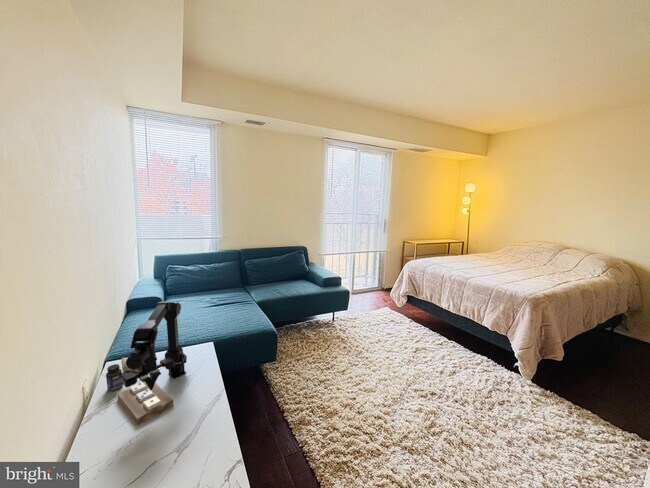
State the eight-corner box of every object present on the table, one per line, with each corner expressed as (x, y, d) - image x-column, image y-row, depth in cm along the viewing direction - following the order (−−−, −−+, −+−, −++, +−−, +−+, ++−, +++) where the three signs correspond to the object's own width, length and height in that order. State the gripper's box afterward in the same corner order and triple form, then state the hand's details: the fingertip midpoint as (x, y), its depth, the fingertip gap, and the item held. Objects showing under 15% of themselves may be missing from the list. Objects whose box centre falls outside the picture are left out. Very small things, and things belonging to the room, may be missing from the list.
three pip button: (149, 394, 130) (148, 388, 129) (153, 399, 127) (153, 392, 126) (136, 400, 126) (136, 393, 125) (141, 405, 123) (140, 398, 122)
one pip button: (156, 402, 125) (155, 395, 124) (161, 407, 122) (160, 400, 121) (143, 408, 121) (143, 401, 121) (148, 413, 118) (147, 406, 118)
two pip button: (142, 387, 135) (141, 381, 134) (146, 391, 132) (145, 385, 131) (130, 392, 131) (129, 386, 130) (134, 397, 128) (133, 391, 127)
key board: (151, 384, 139) (151, 378, 139) (173, 405, 125) (173, 399, 124) (118, 399, 128) (117, 393, 128) (137, 425, 114) (137, 418, 113)
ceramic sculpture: (128, 349, 155) (155, 351, 155) (129, 364, 157) (156, 365, 157) (114, 360, 145) (143, 362, 145) (115, 376, 146) (144, 377, 146)
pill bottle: (114, 392, 133) (112, 371, 132) (104, 391, 134) (101, 369, 133) (126, 384, 139) (124, 364, 138) (116, 383, 140) (113, 362, 139)
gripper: (163, 341, 130) (165, 372, 132) (114, 358, 116) (118, 393, 118) (174, 349, 123) (176, 381, 126) (124, 368, 109) (128, 404, 111)
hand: (150, 389), depth 120 cm, fingers closed
